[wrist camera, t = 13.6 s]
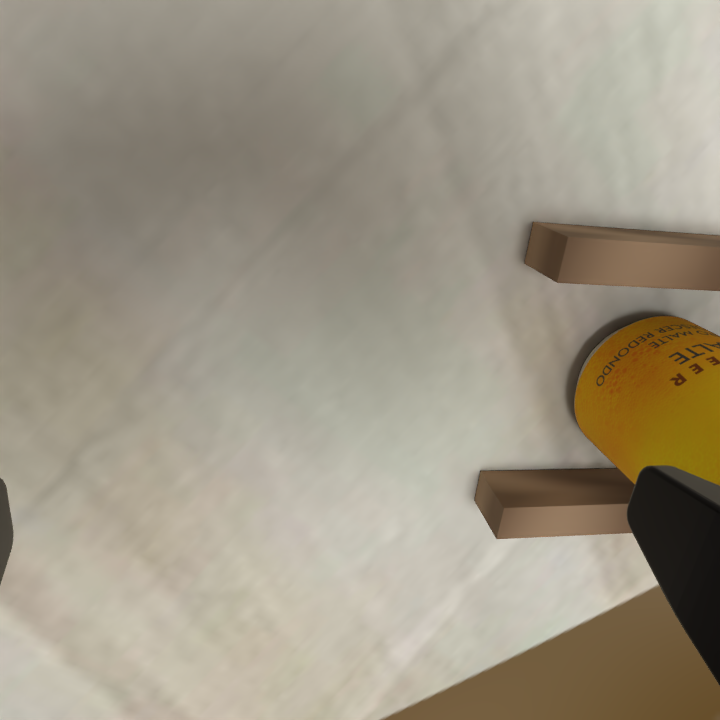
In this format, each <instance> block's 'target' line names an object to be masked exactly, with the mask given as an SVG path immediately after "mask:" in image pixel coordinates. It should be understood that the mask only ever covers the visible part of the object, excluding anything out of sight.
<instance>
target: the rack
mask: <svg viewBox="0 0 720 720" xmlns="http://www.w3.org/2000/svg"><path fill="white" fill-rule="evenodd" d="M525 264H526V265H528V266H530V267H531V268H533V269H535V270H537V271H538V272H540V273H542V274H543V275H545V276H547V277H548V278H550V279H552V280H553V281H555V282H557V283H572V284H592V285H612V286H632V287H651V288H671V289H691V290H710V291H720V236H717V235H704V234H690V233H676V232H662V231H649V230H635V229H621V228H608V227H594V226H580V225H567V224H553V223H539V222H533V225H532V230H531V235H530V240H529V244H528V249H527V254H526V259H525ZM634 486H635V484H634V483H633V482H632V481H631V480H630V479H629V478H628V477H627V476H626V475H625V474H623V473H622V472H621V471H620V470H619V469H618V468H614V469H565V470H515V471H480V476H479V481H478V486H477V490H476V495H475V500H474V501H475V502H476V504H477V506H478V507H479V509H480V511H481V513H482V514H483V516H484V518H485V520H486V521H487V523H488V525H489V527H490V528H491V530H492V532H493V534H494V535H495V537H496V539H508V538H531V537H553V536H575V535H597V534H619V533H632V531H631V529H630V527H629V524H628V521H627V507H628V504H629V501H630V498H631V495H632V492H633V489H634Z"/></svg>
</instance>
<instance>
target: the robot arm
mask: <svg viewBox="0 0 720 720" xmlns="http://www.w3.org/2000/svg"><path fill="white" fill-rule="evenodd" d="M627 521H628V524H629V527H630V529H631V531H632V533H633V535H634V537H635V538H636V540H637V542H638V544H639V546H640V548H641V550H642V552H643V554H644V556H645V558H646V560H647V562H648V564H649V566H650V568H651V570H652V572H653V573H654V575H655V577H656V579H657V581H658V583H659V585H660V587H661V589H662V591H663V593H664V595H665V597H666V599H667V601H668V602H669V604H670V606H671V608H672V610H673V612H674V613H675V615H676V617H677V618H678V620H679V622H680V623H681V625H682V627H683V628H684V630H685V632H686V633H687V635H688V636H689V638H690V639H691V641H692V643H693V644H694V646H695V647H696V649H697V650H698V652H699V654H700V655H701V656H702V658H703V660H704V661H705V663H706V665H707V666H708V668H709V670H710V671H711V673H712V674H713V675H714V677H715V679H716V680H717V682H718V684H719V685H720V485H717V484H715V483H712V482H710V481H707V480H705V479H703V478H700V477H698V476H695V475H693V474H691V473H688V472H686V471H683V470H681V469H678V468H676V467H673V466H669V465H654V466H646V467H644V468H643V469H642V470H641V471H640V472H639V475H638V477H637V480H636V483H635V486H634V489H633V492H632V495H631V498H630V501H629V504H628V507H627ZM12 544H13V525H12V519H11V513H10V507H9V500H8V494H7V488H6V485H5V483H4V481H3V480H2V479H1V478H0V584H1V581H2V578H3V575H4V571H5V568H6V565H7V562H8V559H9V556H10V552H11V549H12Z"/></svg>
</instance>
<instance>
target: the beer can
mask: <svg viewBox="0 0 720 720" xmlns="http://www.w3.org/2000/svg"><path fill="white" fill-rule="evenodd" d="M574 407H575V415H576V419H577V422H578V425H579V427H580V429H581V431H582V432H583V433H584V435H585V436H586V437H587V438H588V439H589V440H590V441H591V442H592V443H593V444H594V445H595V446H596V447H597V448H598V449H599V450H600V451H601V452H602V453H603V454H604V455H605V456H606V457H607V458H608V459H609V460H610V461H611V462H612V463H613V464H614V465H615V466H616V467H617V468H618V469H619V470H620V471H621V472H622V473H623V474H625V475H626V476H627V477H628V478H629V479H630V480H631V481H632V482H633V483H634V484H635V483H636V480H637V477H638V475H639V472H640V471H641V470H642V469H643V468H644V467H646V466H654V465H669V466H673V467H676V468H678V469H681V470H683V471H686V472H688V473H691V474H693V475H695V476H698V477H700V478H703V479H705V480H707V481H710V482H712V483H715V484H717V485H720V336H718V335H716V334H714V333H712V332H710V331H708V330H706V329H704V328H702V327H700V326H698V325H696V324H694V323H692V322H690V321H688V320H685V319H682V318H679V317H673V316H656V317H650V318H646V319H643V320H640V321H637V322H634V323H632V324H630V325H628V326H625V327H623V328H621V329H618V330H617V331H615V332H613V333H612V334H610V335H609V336H607V337H606V338H605V339H604V340H602V341H601V342H600V343H599V344H598V345H597V346H596V347H595V348H594V350H593V351H592V352H591V353H590V355H589V356H588V358H587V359H586V361H585V363H584V364H583V366H582V369H581V371H580V374H579V377H578V382H577V387H576V392H575V401H574Z"/></svg>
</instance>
